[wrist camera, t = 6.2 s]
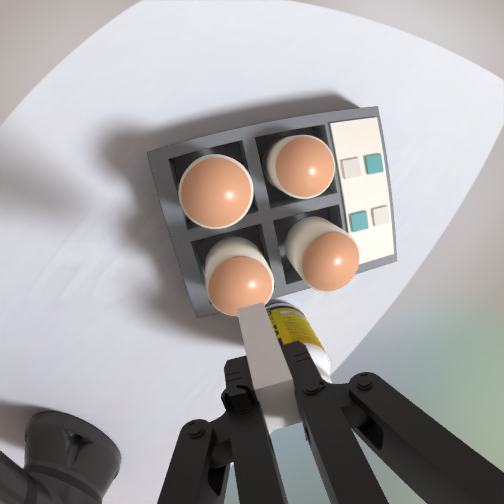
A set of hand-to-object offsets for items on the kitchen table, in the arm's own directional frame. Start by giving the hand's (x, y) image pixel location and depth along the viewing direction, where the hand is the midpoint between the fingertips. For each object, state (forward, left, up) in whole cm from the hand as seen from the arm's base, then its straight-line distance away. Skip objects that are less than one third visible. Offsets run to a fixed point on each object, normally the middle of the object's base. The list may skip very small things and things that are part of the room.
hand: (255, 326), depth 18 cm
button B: (0, +7, -11) cm, 13 cm away
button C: (+7, 0, -10) cm, 12 cm away
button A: (0, 0, -11) cm, 11 cm away
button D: (+7, +7, -13) cm, 16 cm away
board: (+5, +3, -13) cm, 15 cm away
